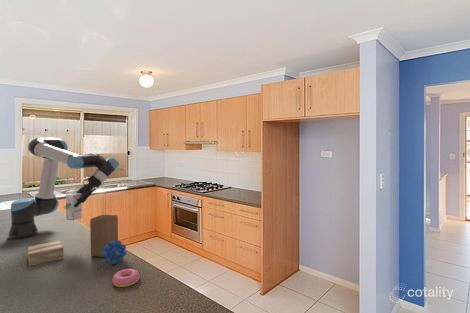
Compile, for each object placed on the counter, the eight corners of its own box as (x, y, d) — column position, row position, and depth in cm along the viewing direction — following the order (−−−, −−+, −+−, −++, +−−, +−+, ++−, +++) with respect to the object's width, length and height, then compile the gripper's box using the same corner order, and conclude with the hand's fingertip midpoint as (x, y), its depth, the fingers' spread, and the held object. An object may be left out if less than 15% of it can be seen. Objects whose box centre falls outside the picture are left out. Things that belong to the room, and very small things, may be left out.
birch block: (28, 257, 139) (27, 246, 139) (60, 251, 148) (59, 240, 148) (29, 266, 128) (28, 254, 128) (63, 259, 137) (63, 247, 137)
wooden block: (106, 258, 138) (106, 219, 137) (90, 256, 140) (89, 218, 139) (119, 250, 147) (118, 214, 147) (103, 249, 149) (102, 213, 149)
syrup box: (82, 218, 155) (82, 193, 154) (73, 220, 149) (72, 194, 149) (75, 217, 157) (74, 192, 156) (65, 219, 151) (65, 194, 150)
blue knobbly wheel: (105, 270, 123) (105, 245, 123) (100, 266, 128) (99, 241, 128) (130, 263, 132) (129, 239, 131) (124, 259, 136) (124, 235, 136)
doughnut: (111, 291, 106) (111, 281, 106) (112, 278, 116) (112, 269, 116) (140, 285, 110) (140, 275, 110) (138, 274, 121) (138, 265, 120)
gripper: (108, 184, 156) (78, 217, 145) (95, 181, 170) (67, 211, 159) (99, 176, 152) (67, 209, 141) (86, 173, 166) (56, 203, 155)
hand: (67, 210), depth 150 cm, fingers closed on syrup box, 7 cm apart
